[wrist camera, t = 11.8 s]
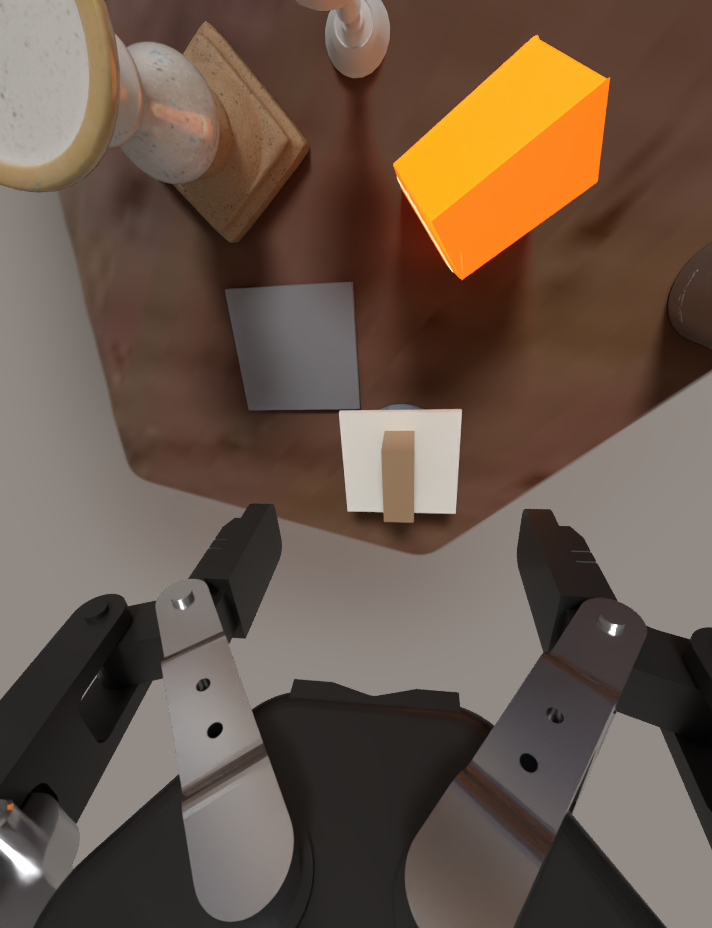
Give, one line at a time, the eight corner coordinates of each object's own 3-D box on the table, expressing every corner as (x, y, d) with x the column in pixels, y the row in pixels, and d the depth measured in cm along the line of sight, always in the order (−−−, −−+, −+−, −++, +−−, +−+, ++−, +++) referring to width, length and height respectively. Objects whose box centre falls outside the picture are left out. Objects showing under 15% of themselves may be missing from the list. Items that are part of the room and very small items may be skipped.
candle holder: (237, 245, 41) (49, 258, 20) (145, 146, 38) (-191, 39, 17) (313, 147, 36) (171, 29, 15) (214, 25, 33) (-129, -327, 12)
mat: (353, 281, 41) (352, 282, 40) (360, 406, 47) (359, 408, 46) (227, 288, 43) (224, 289, 42) (251, 407, 49) (248, 410, 48)
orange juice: (399, 187, 37) (384, 146, 19) (491, 107, 33) (573, -32, 16) (446, 266, 39) (470, 293, 22) (536, 199, 36) (649, 166, 18)
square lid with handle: (461, 409, 40) (466, 430, 36) (455, 510, 46) (459, 539, 42) (339, 410, 42) (330, 431, 38) (348, 508, 48) (341, 536, 43)
